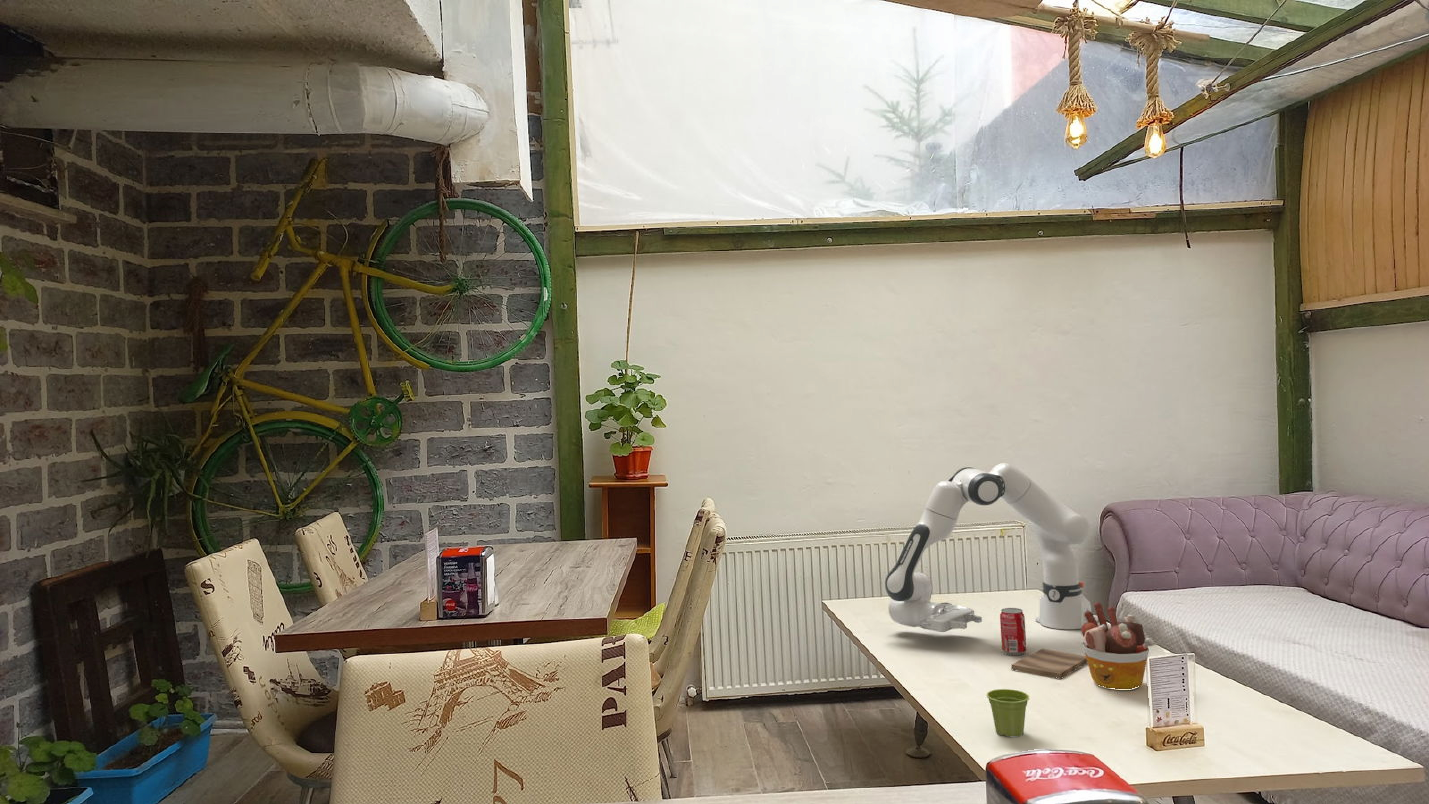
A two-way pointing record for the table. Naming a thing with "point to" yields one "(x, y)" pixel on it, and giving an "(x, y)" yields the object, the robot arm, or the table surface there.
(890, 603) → the robot arm
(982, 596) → the table surface
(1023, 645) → the soda can
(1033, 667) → the walnut board
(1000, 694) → the plant pot
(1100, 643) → the bucket of meat
